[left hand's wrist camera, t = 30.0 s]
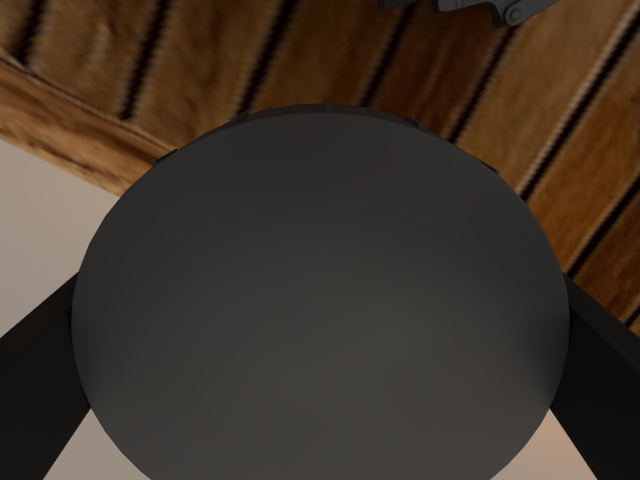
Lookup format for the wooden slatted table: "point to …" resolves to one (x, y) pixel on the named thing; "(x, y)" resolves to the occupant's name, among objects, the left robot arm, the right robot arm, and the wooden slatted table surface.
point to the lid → (320, 306)
